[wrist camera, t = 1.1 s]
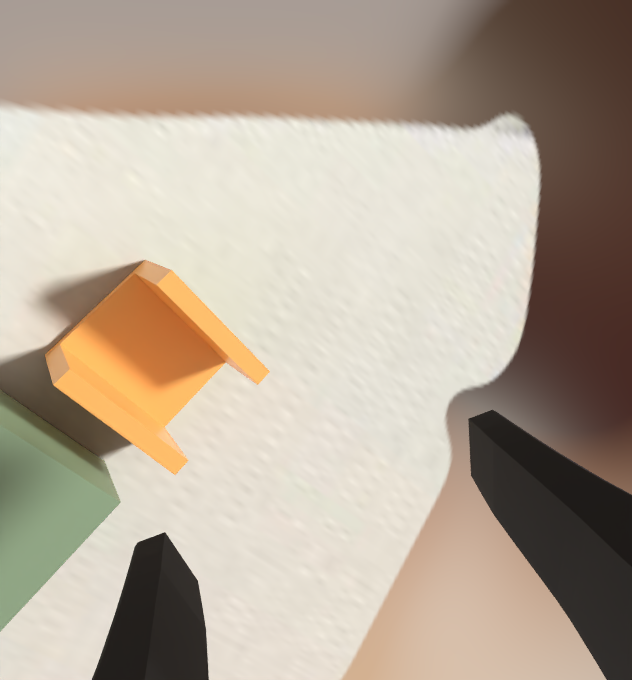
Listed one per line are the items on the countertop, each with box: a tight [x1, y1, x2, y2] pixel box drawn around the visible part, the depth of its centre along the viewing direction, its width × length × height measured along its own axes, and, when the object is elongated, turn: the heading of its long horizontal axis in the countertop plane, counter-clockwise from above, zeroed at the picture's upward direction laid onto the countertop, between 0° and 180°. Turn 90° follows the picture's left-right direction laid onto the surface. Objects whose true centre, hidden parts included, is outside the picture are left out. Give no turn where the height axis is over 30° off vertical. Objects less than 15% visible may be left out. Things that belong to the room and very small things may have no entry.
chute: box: [45, 260, 270, 475], centre depth 20 cm, size 5×6×4 cm
